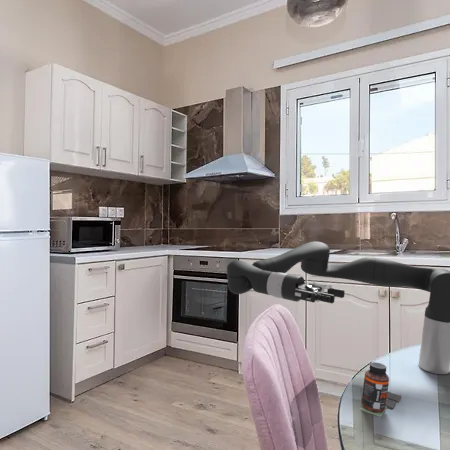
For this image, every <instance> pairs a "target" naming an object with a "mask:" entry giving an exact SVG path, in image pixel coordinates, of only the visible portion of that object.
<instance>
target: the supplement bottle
mask: <svg viewBox="0 0 450 450" xmlns="http://www.w3.org/2000/svg"><path fill="white" fill-rule="evenodd" d="M389 382H390V377H389V374H387V366H386V365H385V364H383V363H380V362H375V361H374V362H370V363H369V369H367V370H365V374H364V378H363V385H362V394H361V405H362V406H363V407H364V408H366V409H368V410H370V411H373V412H383V411H384V410H385V411H386V409H385V407H386V401H387V392H389V391H388V390H389ZM386 408H387V407H386ZM385 411H384V412H385Z"/></svg>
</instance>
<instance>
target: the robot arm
mask: <svg viewBox="0 0 450 450" xmlns="http://www.w3.org/2000/svg"><path fill="white" fill-rule="evenodd" d="M330 255H331V249H330V247H329V246H328V244H327V243H325V242H321V241H309V242H306V243H303V244H302V245H301V244H300V245H299V246H297V247H294V248H293V249H291V250H288V251H286V252H284V253H281V254H280V255H276V256H273V257H268V258H265V259H261V260H256V261H254V262H253V263H252V264H251V263H249V262H246V261H244V260H240V259H238V260H232V261H230V262H229V263H228V264H227V267H226V277H227V287H228V290H229V292H230V293H231V294H234V295H242V294H245V293H247V292H249V291H251V290H253V291H254V292H255V293H259V294H261V295H262V294H264V295H268V296H272V297H274V298H279V299H282V300H286V301H292V302H300V301H305V302H310V303H315V302H323V303H327V304H334V303H335V299H336V298H340V299H343V298H345V295H346V294H345V289H340V288H334V287H333V286H332V285H330V284H324V283H318V282H309V283H306V282H305V278H304V277H303V276H301V275H296V274H292V273H287V272H289V271H290V270H291V269H292V268H294V266H296V265H297V264H299V263H300V268H301V271H303V272H304V273H305V274H308V275H311V276H316V277H321V278H322V277H324V278H333V279H334V278H335V279H342V280H349V281H355V282H360V283H364V284H368V285H374V286H379V287H384V288H385V287H387V288H403V287H404V288H413V289H417V290H421V291H425V292H428V293H430V294H429V299H428V304H427V306H426V307H425V310H424V318H423V327H422V335H421V343H420V349H419V358H418V363H417V364H418V367H419V368H420V369H422V370H423V371H426V372H428V373H432V374H436V375H448V374H449V373H450V270H448V269H446V268H433V267H422V266H414V265H411V264H410V265H409V264H406V263H403V262H398V261H394V260H390V259H385V258H380V257H375V256H374V257H373V256H366V257H361V258H358V259H355V260H352V261H350V262H346V263H339V264H338V263H330V262H329V259H330Z"/></svg>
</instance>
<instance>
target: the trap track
mask: <svg viewBox="0 0 450 450" xmlns="http://www.w3.org/2000/svg"><path fill="white" fill-rule="evenodd" d="M401 399H402V395H400V394H396V393H394V392H392V391H391V392H390V391H388V392H387V401H386V407H385V410H384V411H383V412H373V411H370V410H368V409H366V408H364V407H363V405H362V406H361V407H360V411H362V412H365V413H367V414H371V415H374V416H377V417H379V418H382V416H383V415H384V413H385V411H386V410H387V408H388V409H391V410H393V409H394V408H395V406H396V404H397V403H400V401H401Z"/></svg>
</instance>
